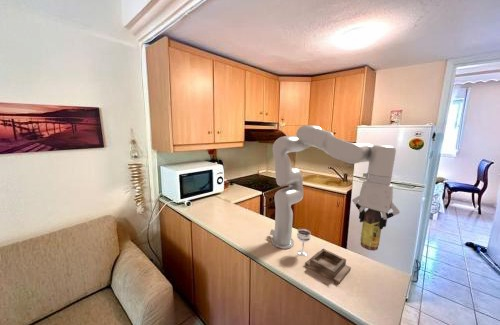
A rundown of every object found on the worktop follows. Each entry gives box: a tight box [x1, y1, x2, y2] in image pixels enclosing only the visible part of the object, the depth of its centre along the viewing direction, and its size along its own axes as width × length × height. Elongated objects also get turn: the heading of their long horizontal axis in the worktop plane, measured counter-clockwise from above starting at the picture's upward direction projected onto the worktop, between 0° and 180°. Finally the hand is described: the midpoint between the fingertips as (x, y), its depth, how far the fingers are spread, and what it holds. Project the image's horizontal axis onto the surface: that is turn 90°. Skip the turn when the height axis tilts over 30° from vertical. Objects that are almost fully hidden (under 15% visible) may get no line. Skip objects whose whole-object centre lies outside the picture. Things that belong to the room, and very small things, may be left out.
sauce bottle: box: [360, 208, 383, 252], centre depth 77 cm, size 6×6×20 cm
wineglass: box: [297, 228, 312, 257], centre depth 104 cm, size 7×7×12 cm
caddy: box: [304, 248, 352, 285], centre depth 94 cm, size 16×13×4 cm
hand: (371, 224), depth 77 cm, fingers closed on sauce bottle, 6 cm apart
